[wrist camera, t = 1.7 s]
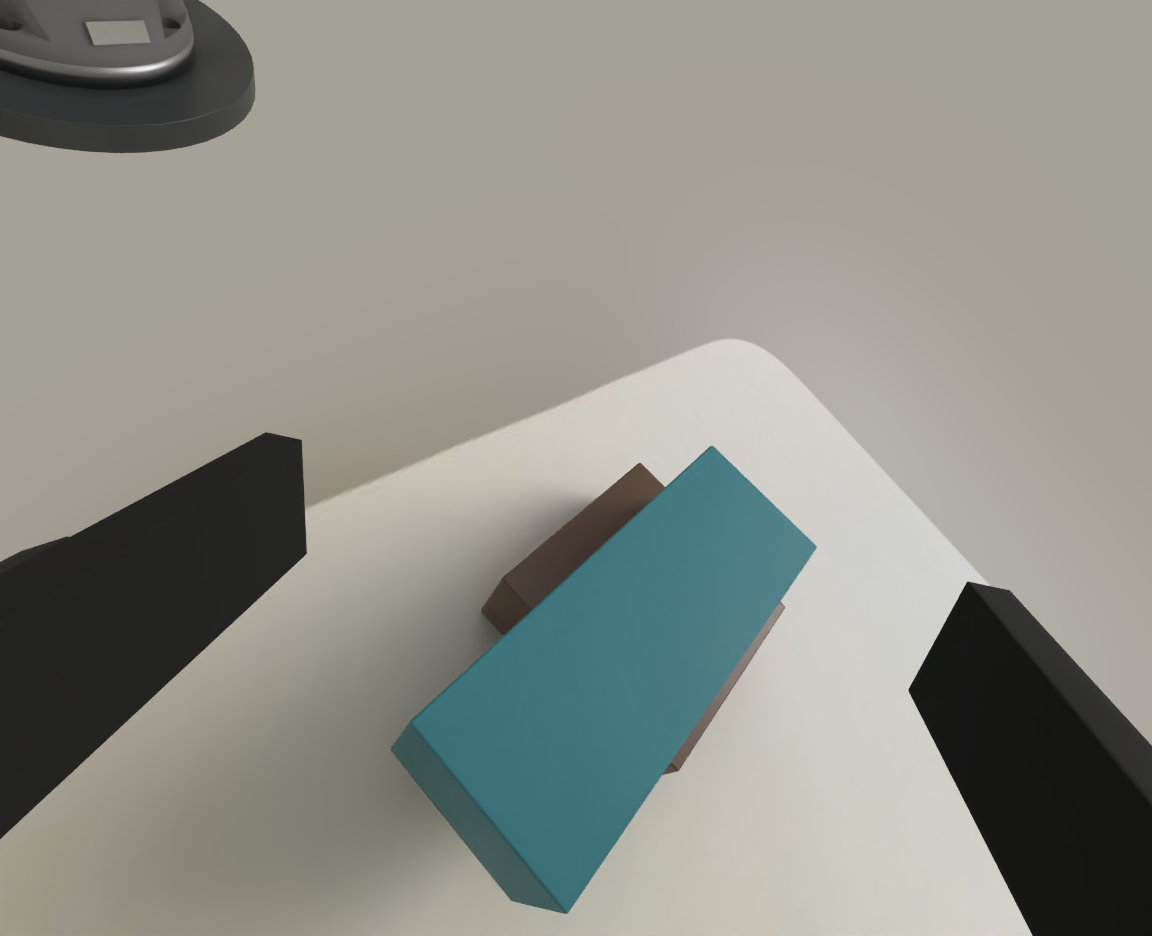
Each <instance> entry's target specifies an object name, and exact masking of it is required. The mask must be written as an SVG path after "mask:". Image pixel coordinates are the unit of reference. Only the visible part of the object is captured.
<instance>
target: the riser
mask: <svg viewBox="0 0 1152 936" xmlns="http://www.w3.org/2000/svg"><path fill="white" fill-rule="evenodd" d="M664 488H665V487H664V486H663V485H662V484H661V483H660V482H659V481H658V480H657V479H656V478H655V477H654V476H653V475H652V474H651V473H650V472H649V471H648V470H647V469H646V468H645V467H644V466H643V465H642V464H641V463H638V464H637V465H636V466H635V467H634V468H632V469H631V470H630V471H629V472H628V473H626V474H625V475H624V476H623V477H622V478H621V479H619V480H618V481H617V482H616V483H615V484H613V485H612V486H611V487H610V488H609V489H607V490H606V491H605V492H604V493H603V494H601V495H600V496H599V497H598V498H597V499H595V500H594V501H593V502H592V503H591V504H590V505H588V506H587V507H586V508H585V509H584V510H582V511H581V512H580V513H579V514H578V515H576V516H575V517H574V518H573V519H572V520H570V521H569V522H568V523H567V524H566V525H565V526H563V527H562V528H561V529H560V530H559V531H557V532H556V533H555V534H554V535H553V536H551V537H550V538H549V539H548V540H547V541H545V542H544V543H543V544H542V545H541V546H540V547H538V548H537V549H536V550H535V551H534V552H532V553H531V554H530V555H529V556H528V557H526V558H525V559H524V560H523V561H522V562H520V563H519V564H518V565H517V566H516V567H514V568H513V569H512V570H511V571H510V572H509V573H507V574H506V575H505V576H504V577H503V578H502V579H501V581H500V582H499V584H498V585H497V587H496V588H495V590H494V591H493V593H492V594H491V595H490V597H489V598H488V600H487V601H486V603H485V604H484V606H483V607H482V609H481V611H482V612H483V613H484V614H485V615H486V617H487V618H488V619H489V620H490V621H491V622H492V623H493V624H494V626H495V627H496V628H497V629H498V630H499V631H500V632H501V633H502V634H503V636H504V635H505V634H506V633H507V632H508V631H509V630H510V629H511V628H512V627H514V626H515V625H516V624H517V623H518V622H519V621H520V620H521V619H522V618H523V617H524V616H526V615H527V614H528V613H529V612H530V611H531V610H532V609H533V608H534V607H535V606H536V605H538V604H539V603H540V602H541V601H542V600H543V599H544V598H545V597H546V596H547V595H548V594H550V593H551V592H552V591H553V590H554V589H555V588H556V587H557V586H558V585H559V584H561V583H562V582H563V581H564V580H565V579H566V578H567V577H568V576H569V575H570V574H571V573H573V572H574V571H575V570H576V569H577V568H578V567H579V566H580V565H581V564H582V563H583V562H585V561H586V560H587V559H588V558H589V557H590V556H591V555H592V554H593V553H594V552H595V551H597V550H598V549H599V548H600V547H601V546H602V545H603V544H604V543H605V542H606V541H607V540H609V539H610V538H611V537H612V536H613V535H614V534H615V533H616V532H617V531H618V530H620V529H621V528H622V527H623V526H624V525H625V524H626V523H627V522H628V521H629V520H630V519H632V518H633V517H634V516H635V515H636V514H637V513H638V512H639V511H640V510H641V509H642V508H644V507H645V506H646V505H647V504H648V503H649V502H650V501H651V500H652V499H653V498H654V497H656V496H657V495H658V494H659V493H660V492H661V491H662V490H663V489H664ZM784 608H785V606H784V605H783V604H782V603H781V602H779V604H778V605H777V607H776V608H775V610H774V611H773V613H772V614H771V616H770V617H769V618H768V620H767V621H766V623H765V624H764V626H763V627H762V629H761V630H760V632H759V633H758V635H757V636H756V638H755V639H754V640H753V642H752V643H751V645H750V646H749V648H748V649H747V651H746V652H745V654H744V655H743V657H742V658H741V660H740V661H739V662H738V664H737V665H736V667H735V668H734V670H733V671H732V673H731V674H730V676H729V677H728V679H727V680H726V682H725V683H724V685H723V686H722V687H721V689H720V690H719V692H718V693H717V695H716V696H715V698H714V699H713V701H712V702H711V704H710V705H709V707H708V708H707V709H706V711H705V712H704V714H703V715H702V717H701V718H700V720H699V721H698V723H697V724H696V726H695V727H694V729H693V730H692V732H691V733H690V734H689V736H688V737H687V739H686V740H685V742H684V743H683V745H682V746H681V748H680V749H679V751H678V752H677V754H676V755H675V756H674V758H673V759H672V761H671V762H670V764H669V765H668V767H667V768H666V770H665V771H664V773H663V774H662V775H664V774H668V773H673V772H677V771H679V769H680V768H681V766H682V765H683V763H684V762H685V760H686V759H687V757H688V756H689V754H690V753H691V751H692V749H693V748H694V746H695V745H696V743H697V742H698V740H699V739H700V737H701V736H702V734H703V733H704V731H705V730H706V728H707V726H708V725H709V723H710V722H711V720H712V719H713V717H714V716H715V714H716V713H717V711H718V710H719V708H720V707H721V705H722V704H723V702H724V700H725V699H726V697H727V696H728V694H729V693H730V691H731V690H732V688H733V687H734V685H735V684H736V682H737V681H738V679H739V677H740V676H741V674H742V673H743V671H744V670H745V668H746V667H747V665H748V664H749V662H750V661H751V659H752V658H753V656H754V654H755V653H756V651H757V650H758V648H759V647H760V645H761V644H762V642H763V641H764V639H765V638H766V636H767V635H768V633H769V631H770V630H771V628H772V627H773V625H774V624H775V622H776V621H777V619H778V618H779V616H780V615H781V613H782V612H783V610H784Z"/></svg>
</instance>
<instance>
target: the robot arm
mask: <svg viewBox="0 0 1152 936" xmlns="http://www.w3.org/2000/svg"><path fill="white" fill-rule="evenodd" d="M195 55H196V49H195V42H194V36H193V29H192V25H191V22H190V18H189V15H188V12H187V9H186V7H185V5H184V3H183V0H0V69H1V70H4V71H7V72H10V73H13V74H16V75H20V76H23V77H27V78H31V79H35V80H39V81H43V82H48V83H53V84H58V85H64V86H71V87H79V88H90V89H133V88H142V87H148V86H153V85H157V84H161V83H164V82H167V81H170V80H172V79H174V78H177V77H178V76H180V75H182V74H183V73H184V72H186V71H187V70H188V69H189V68H190V67H191V65H192V64H193V62H194V59H195ZM306 554H307V549H306V527H305V506H304V484H303V460H302V440H299V439H294V438H290V437H285V436H281V435H276V434H271V433H264V434H262V435H260V436H258V437H256V438H255V439H253V440H251V441H249V442H247V443H245V444H243V445H241V446H239V447H238V448H236V449H234V450H232V451H230V452H228V453H226V454H225V455H223V456H221V457H219V458H217V459H215V460H213V461H212V462H210V463H208V464H206V465H204V466H202V467H200V468H198V469H196V470H195V471H193V472H191V473H189V474H187V475H185V476H183V477H181V478H180V479H178V480H176V481H174V482H172V483H170V484H168V485H166V486H165V487H163V488H161V489H159V490H157V491H155V492H153V493H152V494H150V495H148V496H146V497H144V498H142V499H140V500H138V501H137V502H135V503H133V504H131V505H129V506H127V507H125V508H124V509H122V510H120V511H118V512H116V513H114V514H112V515H110V516H108V517H107V518H105V519H103V520H101V521H99V522H97V523H95V524H93V525H92V526H90V527H88V528H86V529H84V530H83V531H80V532H78V533H77V534H75V535H73V536H71V537H64V538H61V539H58V540H55V541H52V542H48V543H46V544H42V545H39V546H36V547H33V548H30V549H26V550H23V551H21V552H19V553H17V554H15V555H13V556H11V557H9V558H7V559H5V560H3V561H1V562H0V839H1V838H2V837H3V836H4V835H5V834H6V833H7V832H8V831H9V830H10V829H12V828H13V827H14V826H15V825H16V824H17V823H18V822H19V821H20V820H21V819H22V818H23V817H24V816H25V815H27V814H28V813H29V812H30V811H31V810H32V809H33V808H34V807H35V806H36V805H37V804H38V803H39V802H41V801H42V800H43V799H44V798H45V797H46V796H47V795H48V794H49V793H50V792H51V791H52V790H53V789H54V788H56V787H57V786H58V785H59V784H60V783H61V782H62V781H63V780H64V779H65V778H66V777H67V776H68V775H70V774H71V773H72V772H73V771H74V770H75V769H76V768H77V767H78V766H79V765H80V764H81V763H82V762H84V761H85V760H86V759H87V758H88V757H89V756H90V755H91V754H92V753H93V752H94V751H95V750H96V749H97V748H99V747H100V746H101V745H102V744H103V743H104V742H105V741H106V740H107V739H108V738H109V737H110V736H111V735H113V734H114V733H115V732H116V731H117V730H118V729H119V728H120V727H121V726H122V725H123V724H124V723H125V722H127V721H128V720H129V719H130V718H131V717H132V716H133V715H134V714H135V713H136V712H137V711H138V710H139V709H140V708H142V707H143V706H144V705H145V704H146V703H147V702H148V701H149V700H150V699H151V698H152V697H153V696H154V695H156V694H157V693H158V692H159V691H160V690H161V689H162V688H163V687H164V686H165V685H166V684H167V683H168V682H169V681H171V680H172V679H173V678H174V677H175V676H176V675H177V674H178V673H179V672H180V671H181V670H182V669H183V668H185V667H186V666H187V665H188V664H189V663H190V662H191V661H192V660H193V659H194V658H195V657H196V656H197V655H199V654H200V653H201V652H202V651H203V650H204V649H205V648H206V647H207V646H208V645H209V644H210V643H211V642H212V641H214V640H215V639H216V638H217V637H218V636H219V635H220V634H221V633H222V632H223V631H224V630H225V629H226V628H228V627H229V626H230V625H231V624H232V623H233V622H234V621H235V620H236V619H237V618H238V617H239V616H240V615H242V614H243V613H244V612H245V611H246V610H247V609H248V608H249V607H250V606H251V605H252V604H253V603H254V602H255V601H257V600H258V599H259V598H260V597H261V596H262V595H263V594H264V593H265V592H266V591H267V590H268V589H269V588H271V587H272V586H273V585H274V584H275V583H276V582H277V581H278V580H279V579H280V578H281V577H282V576H283V575H284V574H286V573H287V572H288V571H289V570H290V569H291V568H292V567H293V566H294V565H295V564H296V563H297V562H298V561H300V560H301V559H302V558H303V557H304V556H305V555H306ZM908 691H909V693H910V695H911V697H912V699H913V701H914V703H915V705H916V707H917V709H918V711H919V713H920V714H921V716H922V718H923V720H924V722H925V724H926V726H927V728H928V730H929V732H930V734H931V736H932V738H933V740H934V742H935V744H936V746H937V748H938V750H939V752H940V754H941V756H942V758H943V760H944V762H945V764H946V766H947V768H948V770H949V772H950V774H951V776H952V778H953V780H954V782H955V783H956V785H957V787H958V789H959V791H960V793H961V795H962V797H963V799H964V801H965V803H966V805H967V807H968V809H969V811H970V813H971V815H972V817H973V819H974V821H975V823H976V825H977V827H978V829H979V831H980V833H981V835H982V837H983V839H984V841H985V843H986V845H987V847H988V849H989V850H990V852H991V854H992V856H993V858H994V860H995V862H996V864H997V866H998V868H999V870H1000V872H1001V874H1002V876H1003V878H1004V880H1005V882H1006V884H1007V886H1008V888H1009V890H1010V892H1011V894H1012V896H1013V898H1014V900H1015V902H1016V904H1017V906H1018V908H1019V910H1020V912H1021V914H1022V916H1023V918H1024V919H1025V921H1026V923H1027V925H1028V927H1029V929H1030V931H1031V933H1032V935H1033V936H1152V746H1151V744H1150V743H1148V741H1147V740H1146V739H1145V738H1144V737H1143V736H1142V735H1141V734H1140V733H1139V731H1138V730H1137V729H1136V728H1135V727H1134V726H1133V725H1132V724H1131V723H1130V722H1129V720H1128V719H1127V718H1126V717H1125V716H1124V715H1123V714H1122V713H1121V712H1120V711H1119V709H1118V708H1117V707H1116V706H1115V705H1114V704H1113V703H1112V702H1111V701H1110V700H1109V699H1108V697H1107V696H1105V694H1104V693H1103V692H1102V691H1101V690H1100V689H1099V688H1098V687H1097V685H1096V684H1095V683H1094V682H1093V681H1092V680H1091V679H1090V678H1089V677H1088V676H1087V675H1086V673H1085V672H1084V671H1083V670H1082V669H1081V668H1080V667H1079V666H1078V665H1077V664H1076V662H1075V661H1074V660H1073V659H1072V658H1071V657H1070V656H1069V655H1068V654H1067V653H1066V652H1065V651H1064V649H1063V648H1062V647H1061V646H1060V645H1059V644H1058V643H1057V642H1056V641H1055V640H1054V638H1053V637H1052V636H1051V635H1050V634H1049V633H1048V632H1047V631H1046V630H1045V629H1044V628H1043V626H1042V625H1041V624H1040V623H1039V622H1038V621H1037V620H1036V619H1035V618H1034V617H1033V616H1032V615H1031V613H1030V612H1029V611H1028V610H1027V609H1026V608H1025V607H1024V606H1023V605H1022V604H1021V602H1020V601H1019V600H1018V599H1017V598H1016V597H1015V596H1014V595H1013V594H1012V593H1011V591H1009V590H1005V589H1000V588H995V587H991V586H986V585H981V584H977V583H972V582H967V583H966V585H965V587H964V589H963V590H962V592H961V594H960V596H959V598H958V600H957V601H956V603H955V605H954V607H953V609H952V611H951V612H950V614H949V616H948V618H947V620H946V622H945V624H944V625H943V627H942V629H941V631H940V633H939V635H938V636H937V638H936V640H935V642H934V644H933V646H932V647H931V649H930V651H929V653H928V655H927V657H926V658H925V660H924V662H923V664H922V666H921V668H920V669H919V671H918V673H917V675H916V677H915V679H914V680H913V682H912V684H911V686H910V688H909V690H908Z"/></svg>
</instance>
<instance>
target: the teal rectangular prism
mask: <svg viewBox="0 0 1152 936" xmlns="http://www.w3.org/2000/svg"><path fill="white" fill-rule="evenodd" d="M816 548H817V547H816V545H815V544H814V543H813V542H812V541H811V540H810V539H808V538H807V537H806V536H805V535H804V534H803V533H802V532H801V531H800V530H799V529H798V528H797V527H796V526H795V525H794V524H793V523H792V522H791V521H790V520H789V519H788V518H787V517H786V516H785V515H784V514H783V513H782V512H781V511H780V510H779V509H777V508H776V507H775V506H774V505H773V504H772V503H771V502H770V501H769V500H768V499H767V498H766V497H765V496H764V495H763V494H762V493H761V492H760V491H759V490H758V489H757V488H756V487H755V486H754V485H753V484H752V483H751V482H750V481H749V480H748V479H747V478H745V477H744V476H743V475H742V474H741V473H740V472H739V471H738V470H737V469H736V468H735V467H734V466H733V465H732V464H731V463H730V462H729V461H728V460H727V459H726V458H725V457H724V456H723V455H722V454H721V453H720V452H719V451H718V450H717V449H716V448H715V447H713V446H710V447H709V448H708V449H707V450H706V451H705V452H704V453H703V454H701V455H700V456H699V457H698V458H697V459H696V460H695V461H694V462H693V463H692V464H691V465H689V466H688V467H687V468H686V469H685V470H684V471H683V472H682V473H681V474H680V475H679V476H677V477H676V478H675V479H674V480H673V481H672V482H671V483H670V484H669V485H668V486H666V487H665V488H664V489H663V490H662V491H661V492H660V493H659V494H658V495H657V496H656V497H654V498H653V499H652V500H651V501H650V502H649V503H648V504H647V505H646V506H645V507H644V508H642V509H641V510H640V511H639V512H638V513H637V514H636V515H635V516H634V517H633V518H632V519H630V520H629V521H628V522H627V523H626V524H625V525H624V526H623V527H622V528H621V529H620V530H618V531H617V532H616V533H615V534H614V535H613V536H612V537H611V538H610V539H609V540H607V541H606V542H605V543H604V544H603V545H602V546H601V547H600V548H599V549H598V550H597V551H595V552H594V553H593V554H592V555H591V556H590V557H589V558H588V559H587V560H586V561H585V562H583V563H582V564H581V565H580V566H579V567H578V568H577V569H576V570H575V571H574V572H573V573H571V574H570V575H569V576H568V577H567V578H566V579H565V580H564V581H563V582H562V583H561V584H559V585H558V586H557V587H556V588H555V589H554V590H553V591H552V592H551V593H550V594H548V595H547V596H546V597H545V598H544V599H543V600H542V601H541V602H540V603H539V604H538V605H536V606H535V607H534V608H533V609H532V610H531V611H530V612H529V613H528V614H527V615H526V616H524V617H523V618H522V619H521V620H520V621H519V622H518V623H517V624H516V625H515V626H514V627H512V628H511V629H510V630H509V631H508V632H507V633H506V634H505V635H504V636H503V637H502V638H500V639H499V640H498V641H497V642H496V643H495V644H494V645H493V646H492V647H491V648H490V649H488V650H487V651H486V652H485V653H484V654H483V655H482V656H481V657H480V658H479V659H477V660H476V661H475V662H474V663H473V664H472V665H471V666H470V667H469V668H468V669H467V670H465V671H464V672H463V673H462V674H461V675H460V676H459V677H458V678H457V679H456V680H455V681H453V682H452V683H451V684H450V685H449V686H448V687H447V688H446V689H445V690H444V691H443V692H441V693H440V694H439V695H438V696H437V697H436V698H435V699H434V700H433V701H432V702H431V703H429V704H428V705H427V706H426V707H425V708H424V709H423V710H422V711H421V712H420V713H418V714H417V715H416V716H415V717H414V718H413V719H412V720H411V721H410V722H409V724H408V725H407V727H406V728H405V729H404V731H403V732H402V734H401V735H400V736H399V738H398V739H397V741H396V742H395V743H394V745H393V746H392V748H391V751H392V753H393V754H394V755H395V756H396V758H397V759H398V760H399V761H400V763H401V764H402V765H403V766H404V768H405V769H406V770H407V771H408V773H409V774H410V775H411V776H412V778H413V779H414V780H415V781H416V783H417V784H418V785H419V786H420V787H421V789H422V790H423V791H424V792H425V794H426V795H427V796H428V797H429V799H430V800H431V801H432V802H433V804H434V805H435V806H436V807H437V809H438V810H439V811H440V812H441V814H442V815H443V816H444V817H445V819H446V820H447V821H448V822H449V824H450V825H451V826H452V827H453V829H454V830H455V831H456V832H457V834H458V835H459V836H460V837H461V839H462V840H463V841H464V842H465V844H466V845H467V846H468V847H469V849H470V850H471V851H472V852H473V854H474V855H475V856H476V857H477V859H478V860H479V861H480V862H481V864H482V865H483V866H484V867H485V869H486V870H487V871H488V872H489V874H490V875H491V876H492V877H493V879H494V880H495V881H496V882H497V884H498V885H499V886H500V887H501V889H502V890H503V891H504V892H505V894H506V895H507V896H508V897H509V899H510V900H511V901H514V902H518V903H522V904H527V905H531V906H535V907H539V908H543V909H547V910H551V911H556V912H560V913H564V914H567V913H568V912H569V911H570V909H571V908H572V906H573V905H574V903H575V902H576V900H577V899H578V897H579V896H580V894H581V893H582V892H583V890H584V889H585V887H586V886H587V884H588V883H589V881H590V880H591V878H592V877H593V875H594V874H595V872H596V871H597V870H598V868H599V867H600V865H601V864H602V862H603V861H604V859H605V858H606V856H607V855H608V853H609V852H610V850H611V849H612V848H613V846H614V845H615V843H616V842H617V840H618V839H619V837H620V836H621V834H622V833H623V831H624V830H625V828H626V827H627V825H628V824H629V823H630V821H631V820H632V818H633V817H634V815H635V814H636V812H637V811H638V809H639V808H640V806H641V805H642V803H643V802H644V801H645V799H646V798H647V796H648V795H649V793H650V792H651V790H652V789H653V787H654V786H655V784H656V783H657V781H658V780H659V778H660V777H661V776H662V774H663V773H664V771H665V770H666V768H667V767H668V765H669V764H670V762H671V761H672V759H673V758H674V756H675V755H676V754H677V752H678V751H679V749H680V748H681V746H682V745H683V743H684V742H685V740H686V739H687V737H688V736H689V734H690V733H691V732H692V730H693V729H694V727H695V726H696V724H697V723H698V721H699V720H700V718H701V717H702V715H703V714H704V712H705V711H706V709H707V708H708V707H709V705H710V704H711V702H712V701H713V699H714V698H715V696H716V695H717V693H718V692H719V690H720V689H721V687H722V686H723V685H724V683H725V682H726V680H727V679H728V677H729V676H730V674H731V673H732V671H733V670H734V668H735V667H736V665H737V664H738V662H739V661H740V660H741V658H742V657H743V655H744V654H745V652H746V651H747V649H748V648H749V646H750V645H751V643H752V642H753V640H754V639H755V638H756V636H757V635H758V633H759V632H760V630H761V629H762V627H763V626H764V624H765V623H766V621H767V620H768V618H769V617H770V616H771V614H772V613H773V611H774V610H775V608H776V607H777V605H778V604H779V602H780V601H781V599H782V598H783V596H784V595H785V593H786V592H787V591H788V589H789V588H790V586H791V585H792V583H793V582H794V580H795V579H796V577H797V576H798V574H799V573H800V571H801V570H802V569H803V567H804V566H805V564H806V563H807V561H808V560H809V558H810V557H811V555H812V554H813V552H814V551H815V549H816Z"/></svg>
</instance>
